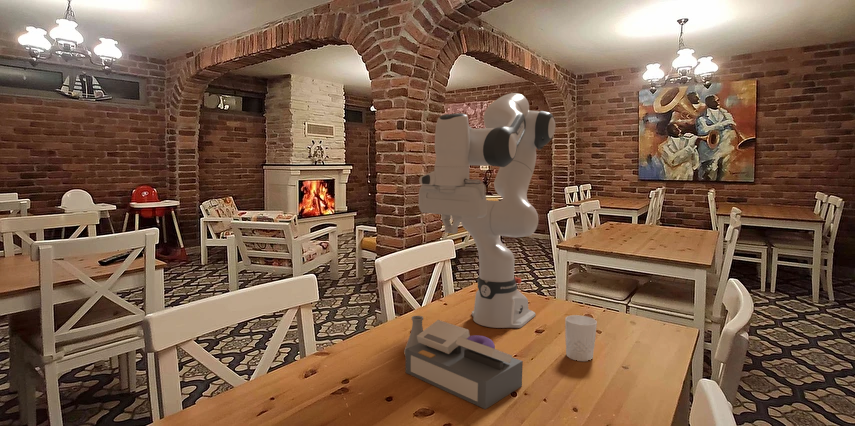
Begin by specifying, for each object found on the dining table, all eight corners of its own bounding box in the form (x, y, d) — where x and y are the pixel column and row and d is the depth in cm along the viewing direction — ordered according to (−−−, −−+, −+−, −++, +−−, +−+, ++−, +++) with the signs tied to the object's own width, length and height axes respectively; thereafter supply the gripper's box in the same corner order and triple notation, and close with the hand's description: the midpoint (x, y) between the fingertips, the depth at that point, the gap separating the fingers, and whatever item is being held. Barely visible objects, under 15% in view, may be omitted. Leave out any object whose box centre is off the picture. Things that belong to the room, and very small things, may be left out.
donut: (499, 358, 120) (496, 341, 119) (465, 366, 119) (461, 349, 119) (491, 343, 130) (488, 327, 129) (459, 351, 129) (456, 334, 129)
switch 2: (474, 350, 110) (476, 343, 110) (510, 363, 103) (512, 355, 103) (455, 344, 104) (458, 335, 105) (491, 357, 97) (494, 348, 98)
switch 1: (439, 325, 118) (437, 319, 118) (469, 336, 111) (468, 329, 111) (418, 342, 113) (416, 335, 112) (448, 354, 106) (447, 347, 105)
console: (443, 355, 122) (444, 327, 121) (521, 386, 106) (522, 354, 105) (404, 372, 112) (405, 342, 111) (484, 409, 95) (485, 374, 95)
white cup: (569, 348, 128) (570, 313, 127) (598, 355, 123) (600, 318, 122) (559, 357, 121) (561, 321, 120) (590, 365, 117) (591, 327, 116)
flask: (427, 360, 119) (428, 323, 118) (400, 357, 120) (400, 320, 119) (432, 349, 126) (433, 314, 125) (407, 347, 127) (407, 312, 126)
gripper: (493, 179, 111) (491, 236, 112) (431, 177, 125) (430, 227, 126) (477, 180, 106) (475, 239, 108) (414, 177, 120) (414, 230, 122)
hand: (451, 232), depth 117 cm, fingers closed
